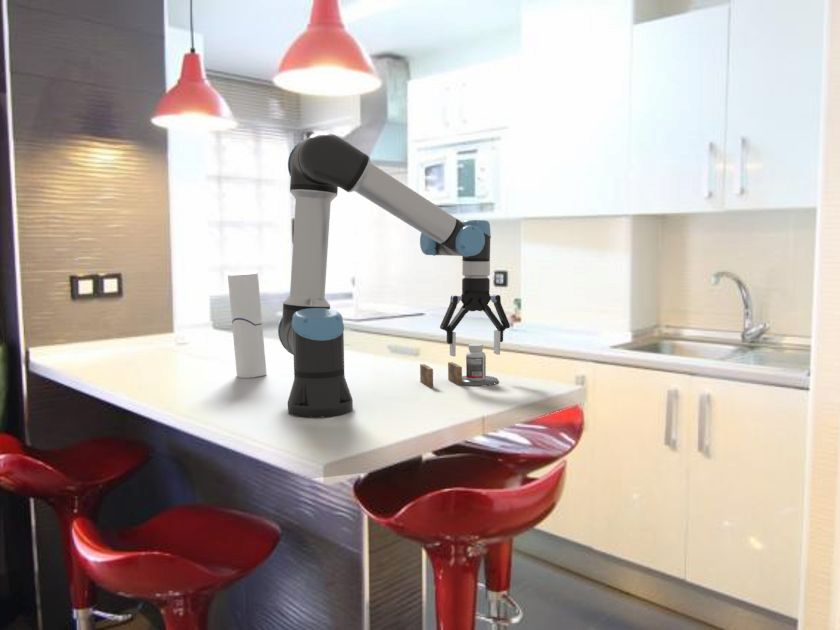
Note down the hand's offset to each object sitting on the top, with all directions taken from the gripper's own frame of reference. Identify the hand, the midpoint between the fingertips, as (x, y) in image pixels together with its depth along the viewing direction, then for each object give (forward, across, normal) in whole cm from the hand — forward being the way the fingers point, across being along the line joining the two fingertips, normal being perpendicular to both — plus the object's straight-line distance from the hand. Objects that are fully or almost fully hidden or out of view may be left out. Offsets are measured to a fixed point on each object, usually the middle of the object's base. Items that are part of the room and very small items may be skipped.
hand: (474, 354), depth 193 cm
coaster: (+8, 0, 0) cm, 8 cm away
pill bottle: (+7, 0, 0) cm, 7 cm away
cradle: (+8, +10, -1) cm, 12 cm away
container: (+9, +58, -32) cm, 67 cm away
